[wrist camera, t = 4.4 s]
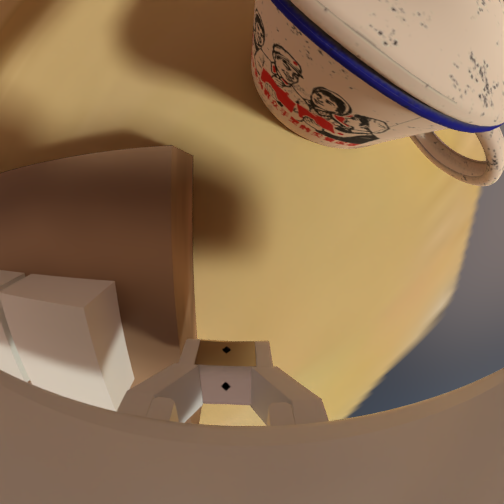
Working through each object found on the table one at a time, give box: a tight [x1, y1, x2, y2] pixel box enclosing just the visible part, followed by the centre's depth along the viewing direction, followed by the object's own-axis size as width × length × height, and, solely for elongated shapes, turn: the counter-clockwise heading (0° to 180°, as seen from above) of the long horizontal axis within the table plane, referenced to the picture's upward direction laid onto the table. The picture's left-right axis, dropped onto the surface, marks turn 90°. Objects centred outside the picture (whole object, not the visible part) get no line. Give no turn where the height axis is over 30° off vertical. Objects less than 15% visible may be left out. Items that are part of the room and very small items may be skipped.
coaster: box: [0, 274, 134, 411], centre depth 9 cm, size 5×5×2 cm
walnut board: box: [0, 145, 202, 424], centre depth 12 cm, size 15×14×4 cm
